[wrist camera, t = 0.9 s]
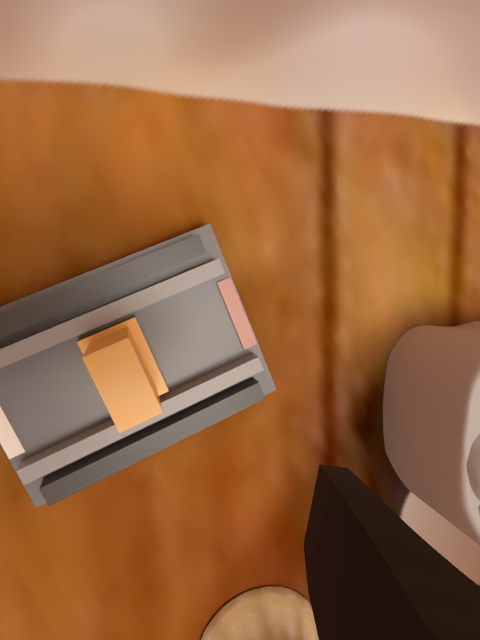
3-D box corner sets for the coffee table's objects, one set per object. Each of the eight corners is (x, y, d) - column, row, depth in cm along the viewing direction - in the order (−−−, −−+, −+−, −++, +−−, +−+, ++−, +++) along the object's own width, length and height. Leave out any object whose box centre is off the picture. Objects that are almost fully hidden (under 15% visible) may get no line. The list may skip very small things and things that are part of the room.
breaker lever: (114, 411, 22) (111, 444, 18) (78, 339, 22) (66, 356, 17) (167, 387, 23) (176, 413, 19) (134, 315, 22) (136, 326, 18)
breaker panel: (41, 493, 24) (31, 521, 21) (-51, 327, 22) (-75, 335, 19) (268, 383, 26) (283, 395, 24) (205, 226, 24) (214, 220, 22)
